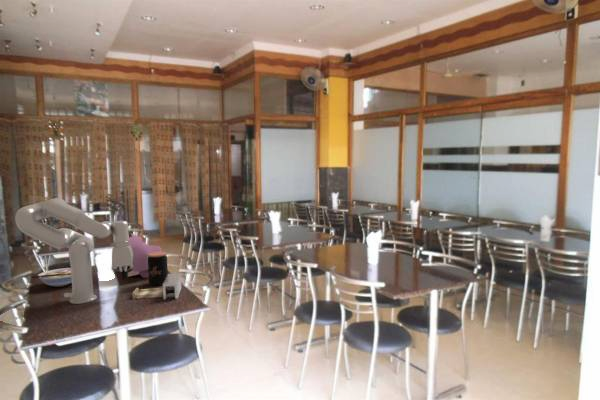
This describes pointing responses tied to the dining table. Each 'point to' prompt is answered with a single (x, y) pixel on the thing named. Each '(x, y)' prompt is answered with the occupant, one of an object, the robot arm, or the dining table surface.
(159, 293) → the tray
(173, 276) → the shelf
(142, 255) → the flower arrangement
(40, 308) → the dining table surface
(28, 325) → the dining table surface
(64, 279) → the ramen bowl
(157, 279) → the coffee jar
